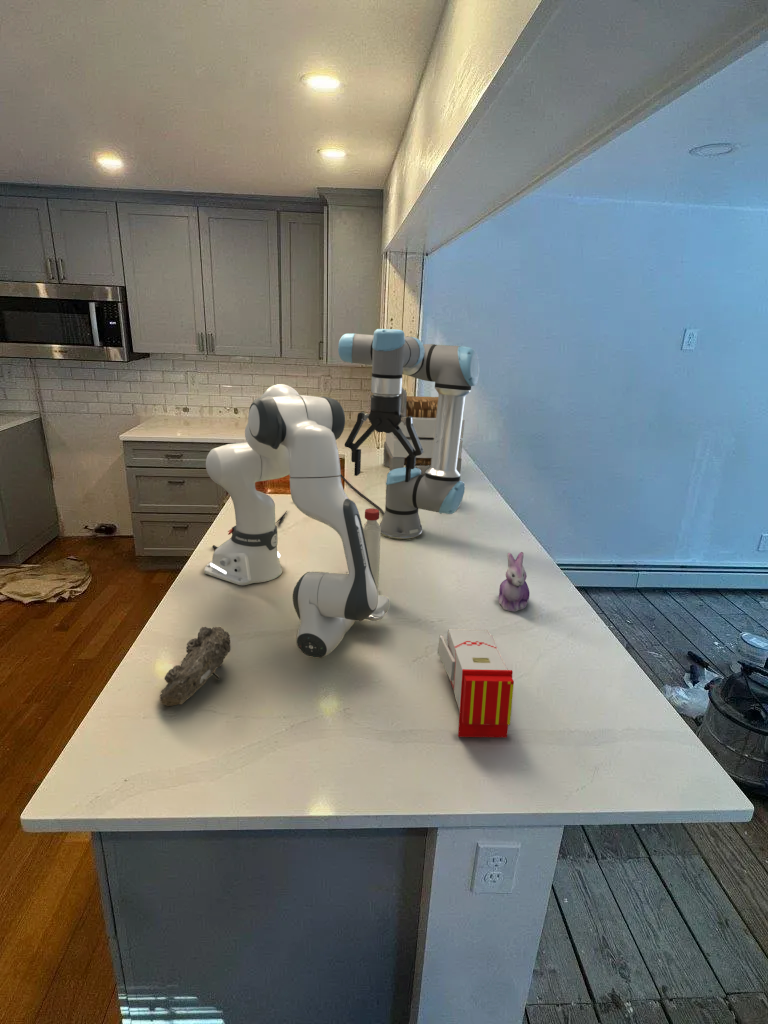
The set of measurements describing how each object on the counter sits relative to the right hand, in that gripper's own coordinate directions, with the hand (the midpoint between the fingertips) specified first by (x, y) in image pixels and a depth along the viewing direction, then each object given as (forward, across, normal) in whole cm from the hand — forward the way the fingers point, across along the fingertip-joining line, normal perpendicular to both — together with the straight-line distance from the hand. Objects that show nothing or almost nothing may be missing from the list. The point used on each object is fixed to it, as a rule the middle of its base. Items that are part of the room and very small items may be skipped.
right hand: (382, 477), depth 147 cm
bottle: (+33, +2, +1) cm, 33 cm away
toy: (+34, -31, +35) cm, 57 cm away
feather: (+33, +50, -47) cm, 77 cm away
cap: (+9, +2, +1) cm, 10 cm away
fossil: (+34, +24, +49) cm, 64 cm away
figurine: (+33, -37, -7) cm, 50 cm away
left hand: (+28, +2, +10) cm, 29 cm away
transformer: (+32, +16, -125) cm, 130 cm away
